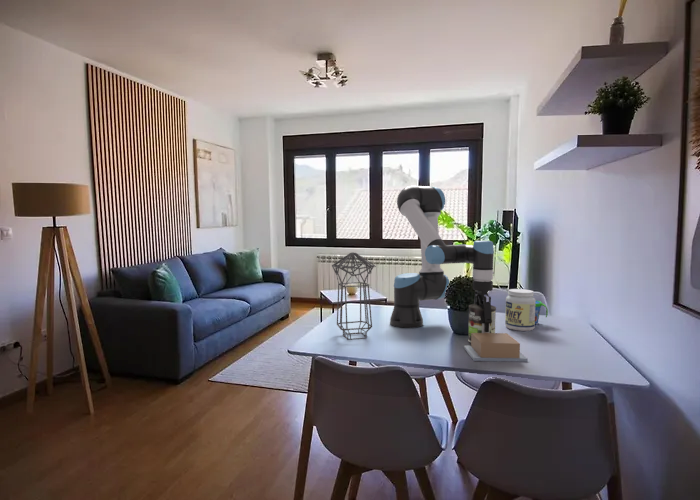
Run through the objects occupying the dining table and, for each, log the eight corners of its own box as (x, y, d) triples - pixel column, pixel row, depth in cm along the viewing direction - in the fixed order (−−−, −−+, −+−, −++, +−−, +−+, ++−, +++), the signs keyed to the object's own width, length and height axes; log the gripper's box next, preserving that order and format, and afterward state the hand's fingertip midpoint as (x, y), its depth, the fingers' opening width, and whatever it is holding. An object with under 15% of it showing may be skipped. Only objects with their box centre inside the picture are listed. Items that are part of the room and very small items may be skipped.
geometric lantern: (340, 343, 158) (338, 253, 156) (332, 333, 173) (330, 252, 172) (378, 339, 161) (377, 252, 160) (367, 330, 177) (366, 251, 175)
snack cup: (508, 322, 190) (509, 301, 190) (514, 318, 199) (514, 298, 198) (545, 327, 181) (545, 305, 181) (549, 322, 190) (549, 301, 189)
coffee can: (480, 346, 153) (481, 310, 152) (462, 339, 162) (463, 305, 161) (501, 343, 157) (502, 307, 156) (482, 336, 167) (482, 302, 166)
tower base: (473, 360, 137) (474, 343, 137) (463, 348, 151) (464, 332, 151) (527, 361, 136) (528, 344, 136) (512, 348, 150) (513, 332, 150)
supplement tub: (499, 327, 182) (500, 290, 181) (514, 323, 189) (515, 287, 188) (525, 333, 172) (526, 293, 171) (540, 328, 179) (541, 291, 178)
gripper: (502, 284, 147) (500, 344, 148) (484, 276, 169) (483, 328, 171) (481, 284, 147) (479, 344, 148) (466, 276, 170) (465, 328, 171)
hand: (481, 335), depth 160 cm, fingers closed on coffee can, 10 cm apart
